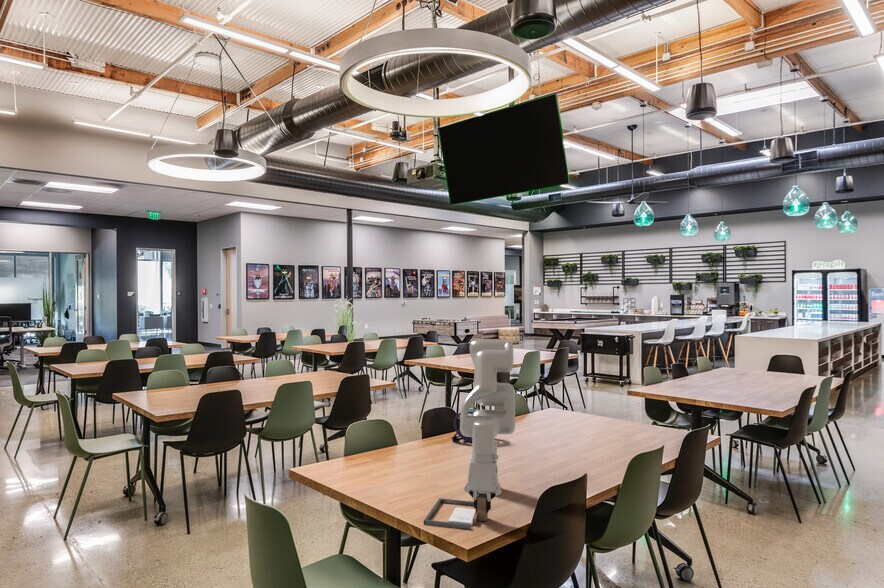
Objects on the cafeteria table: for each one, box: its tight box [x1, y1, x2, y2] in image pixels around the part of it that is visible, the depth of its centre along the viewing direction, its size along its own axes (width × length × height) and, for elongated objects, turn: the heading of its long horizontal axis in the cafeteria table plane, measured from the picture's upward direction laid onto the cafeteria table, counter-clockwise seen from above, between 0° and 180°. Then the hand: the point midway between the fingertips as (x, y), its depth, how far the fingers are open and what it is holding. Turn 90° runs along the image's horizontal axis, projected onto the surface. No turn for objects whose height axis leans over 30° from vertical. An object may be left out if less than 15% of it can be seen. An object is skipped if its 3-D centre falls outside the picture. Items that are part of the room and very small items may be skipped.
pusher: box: [472, 493, 489, 526], centre depth 186 cm, size 11×4×8 cm, turn 167°
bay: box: [423, 498, 474, 530], centre depth 190 cm, size 22×16×1 cm
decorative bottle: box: [451, 402, 477, 443], centre depth 296 cm, size 22×21×25 cm
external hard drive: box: [447, 506, 476, 527], centre depth 188 cm, size 2×8×12 cm
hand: (482, 510), depth 186 cm, fingers closed on pusher, 2 cm apart
